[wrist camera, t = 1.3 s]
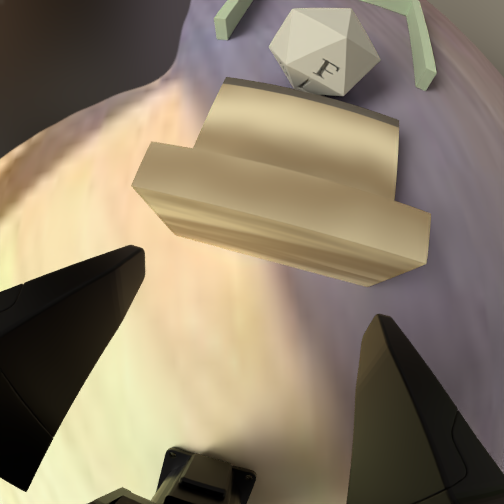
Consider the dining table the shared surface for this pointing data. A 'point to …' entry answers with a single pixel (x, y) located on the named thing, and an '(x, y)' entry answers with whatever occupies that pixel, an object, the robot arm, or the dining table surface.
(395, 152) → the block
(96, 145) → the dining table surface
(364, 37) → the die
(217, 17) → the fence
